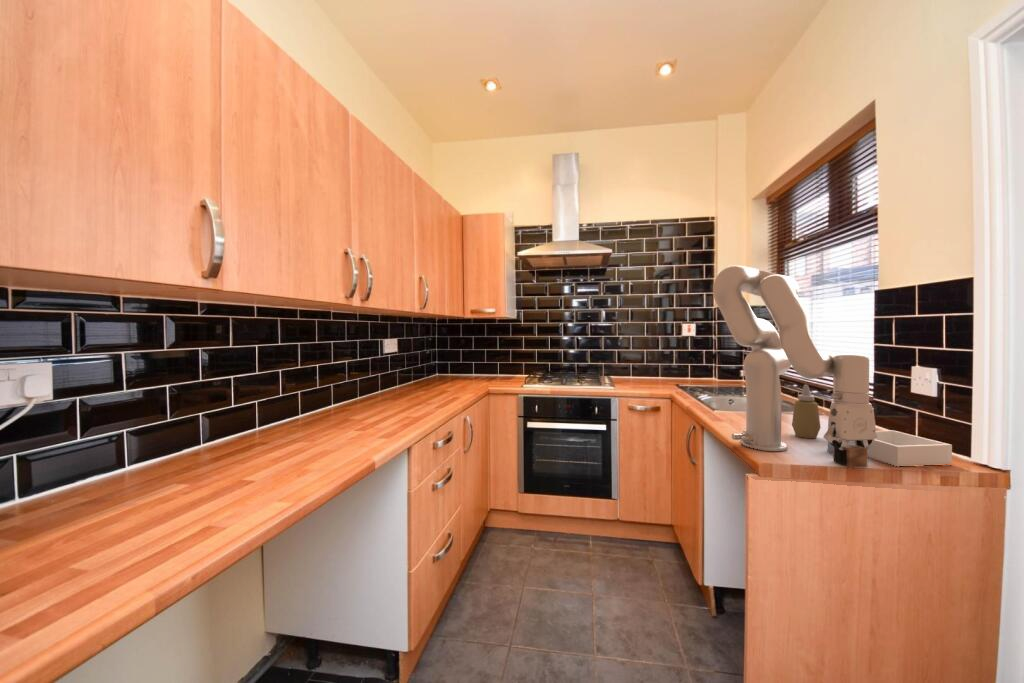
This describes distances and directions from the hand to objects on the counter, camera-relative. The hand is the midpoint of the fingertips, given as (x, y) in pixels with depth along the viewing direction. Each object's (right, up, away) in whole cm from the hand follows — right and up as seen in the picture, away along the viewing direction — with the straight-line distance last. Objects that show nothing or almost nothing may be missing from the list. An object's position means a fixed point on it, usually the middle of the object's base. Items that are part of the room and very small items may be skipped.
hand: (850, 462), depth 108 cm
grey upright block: (+4, 0, +9) cm, 10 cm away
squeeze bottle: (+8, 0, +28) cm, 29 cm away
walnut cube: (0, -1, 0) cm, 1 cm away
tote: (+17, 0, +5) cm, 18 cm away
